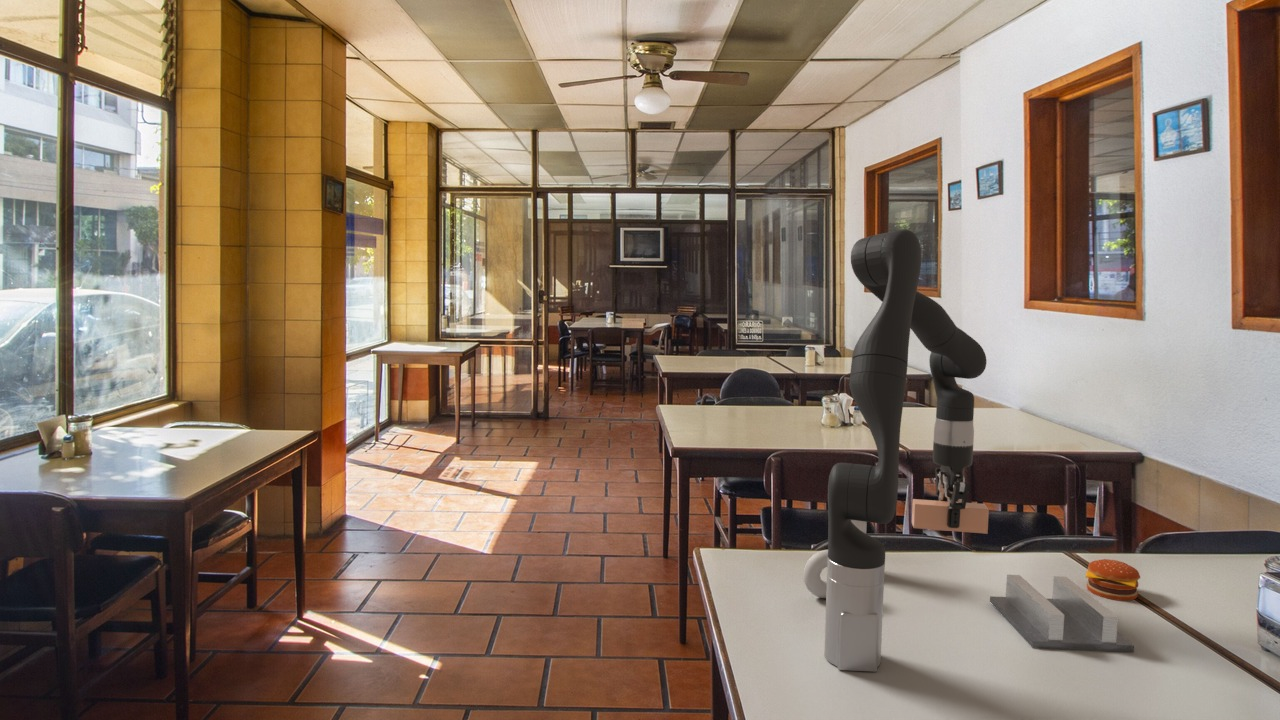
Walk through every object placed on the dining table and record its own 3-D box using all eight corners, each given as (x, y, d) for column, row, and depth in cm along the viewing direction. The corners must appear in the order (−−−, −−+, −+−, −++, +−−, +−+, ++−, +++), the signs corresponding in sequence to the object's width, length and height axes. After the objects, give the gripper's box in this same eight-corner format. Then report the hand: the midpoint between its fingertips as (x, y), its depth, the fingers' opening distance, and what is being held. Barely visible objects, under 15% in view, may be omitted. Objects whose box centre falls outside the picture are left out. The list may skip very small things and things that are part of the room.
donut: (806, 602, 156) (807, 554, 155) (799, 596, 159) (801, 548, 158) (853, 599, 157) (855, 551, 157) (845, 593, 161) (847, 545, 160)
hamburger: (1083, 594, 162) (1085, 563, 161) (1088, 581, 170) (1090, 551, 169) (1137, 605, 156) (1139, 573, 156) (1140, 591, 164) (1142, 560, 164)
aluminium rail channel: (1133, 652, 136) (1136, 618, 135) (1032, 647, 137) (1034, 614, 137) (1077, 605, 156) (1079, 576, 155) (989, 602, 157) (991, 573, 156)
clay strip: (987, 533, 157) (988, 509, 156) (913, 528, 160) (914, 504, 159) (983, 527, 160) (984, 503, 160) (911, 522, 164) (912, 499, 163)
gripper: (985, 448, 151) (980, 535, 153) (960, 435, 165) (956, 514, 167) (945, 447, 152) (941, 533, 153) (924, 434, 166) (920, 513, 167)
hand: (949, 523), depth 160 cm, fingers closed on clay strip, 4 cm apart
